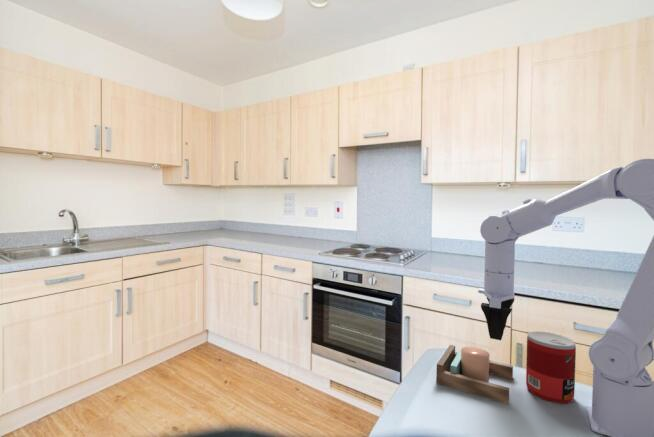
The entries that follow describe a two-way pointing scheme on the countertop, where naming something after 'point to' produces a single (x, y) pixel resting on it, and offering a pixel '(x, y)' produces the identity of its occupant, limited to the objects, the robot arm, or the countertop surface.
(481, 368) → the tan rounded cylinder
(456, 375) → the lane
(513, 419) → the countertop surface
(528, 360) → the canned food
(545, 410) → the countertop surface
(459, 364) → the plate
